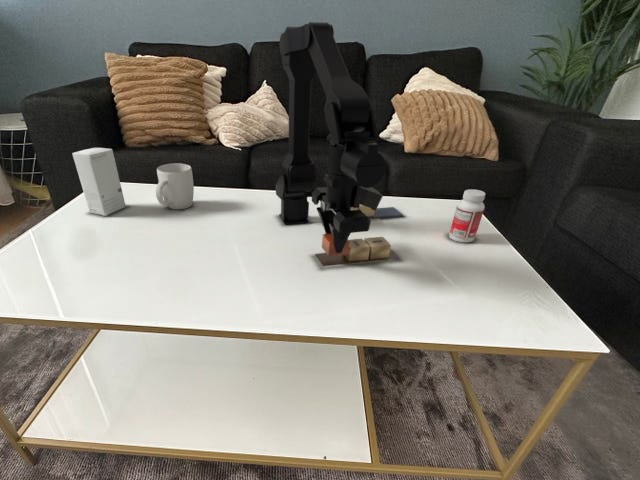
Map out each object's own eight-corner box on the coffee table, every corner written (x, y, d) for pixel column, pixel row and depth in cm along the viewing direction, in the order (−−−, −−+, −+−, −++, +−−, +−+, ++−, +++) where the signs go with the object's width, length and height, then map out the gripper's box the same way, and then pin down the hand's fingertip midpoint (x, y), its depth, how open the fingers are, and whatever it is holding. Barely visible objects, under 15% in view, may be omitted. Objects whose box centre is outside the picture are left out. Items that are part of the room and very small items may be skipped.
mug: (176, 198, 119) (170, 161, 112) (202, 203, 116) (197, 165, 109) (148, 212, 110) (140, 173, 103) (175, 218, 107) (169, 178, 101)
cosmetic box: (105, 216, 107) (89, 155, 97) (88, 213, 109) (70, 152, 99) (127, 206, 113) (113, 147, 103) (110, 203, 114) (95, 145, 105)
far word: (340, 221, 107) (342, 208, 105) (333, 213, 112) (334, 200, 109) (402, 216, 111) (405, 203, 109) (392, 209, 115) (395, 195, 113)
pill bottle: (470, 233, 103) (484, 188, 96) (477, 243, 98) (493, 197, 91) (445, 232, 103) (458, 187, 96) (451, 242, 99) (465, 196, 92)
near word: (322, 268, 87) (324, 252, 85) (314, 256, 92) (315, 240, 89) (398, 260, 91) (402, 245, 88) (387, 249, 95) (390, 234, 93)
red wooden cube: (328, 256, 86) (329, 242, 84) (321, 247, 90) (322, 233, 88) (347, 254, 87) (349, 240, 85) (340, 245, 91) (342, 232, 89)
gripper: (402, 184, 73) (387, 263, 83) (362, 157, 86) (353, 228, 96) (344, 188, 70) (336, 269, 81) (313, 159, 84) (309, 232, 94)
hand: (334, 247), depth 88 cm, fingers closed on red wooden cube, 4 cm apart
